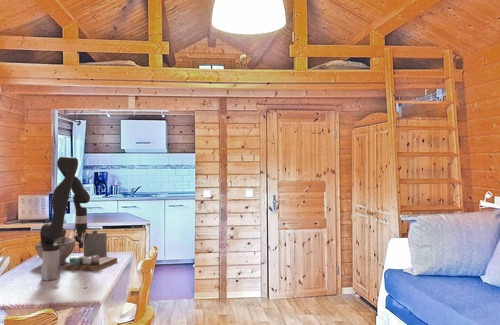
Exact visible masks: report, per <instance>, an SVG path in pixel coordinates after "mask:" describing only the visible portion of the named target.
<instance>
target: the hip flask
mask: <svg viewBox="0 0 500 325" xmlns="http://www.w3.org/2000/svg"><path fill="white" fill-rule="evenodd" d="M91 231H92V232H87V233H88V236H87V238H86V240H85V241H84V242H83V257H87V256H94V255H99V257H108V251H107V250H108V249H107V248H108V247H107V246H108V245H107V243H108V242H107V241H108V240H107V239H108V238H107V232H98V231H99V230H98V229H93V230H91Z"/></svg>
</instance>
